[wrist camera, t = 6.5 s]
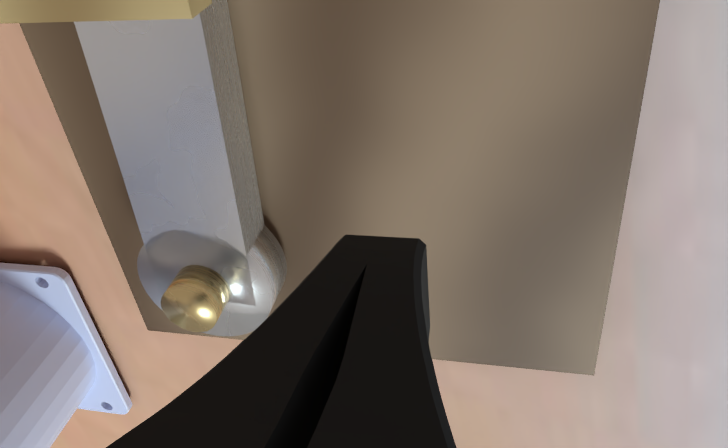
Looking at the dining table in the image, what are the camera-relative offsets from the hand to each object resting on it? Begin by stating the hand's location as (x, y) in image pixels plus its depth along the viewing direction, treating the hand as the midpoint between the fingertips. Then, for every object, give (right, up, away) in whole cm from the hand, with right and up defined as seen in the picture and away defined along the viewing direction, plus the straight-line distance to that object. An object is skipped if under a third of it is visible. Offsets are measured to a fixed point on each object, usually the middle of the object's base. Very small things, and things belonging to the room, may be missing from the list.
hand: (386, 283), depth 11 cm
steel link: (-5, +4, +6) cm, 8 cm away
